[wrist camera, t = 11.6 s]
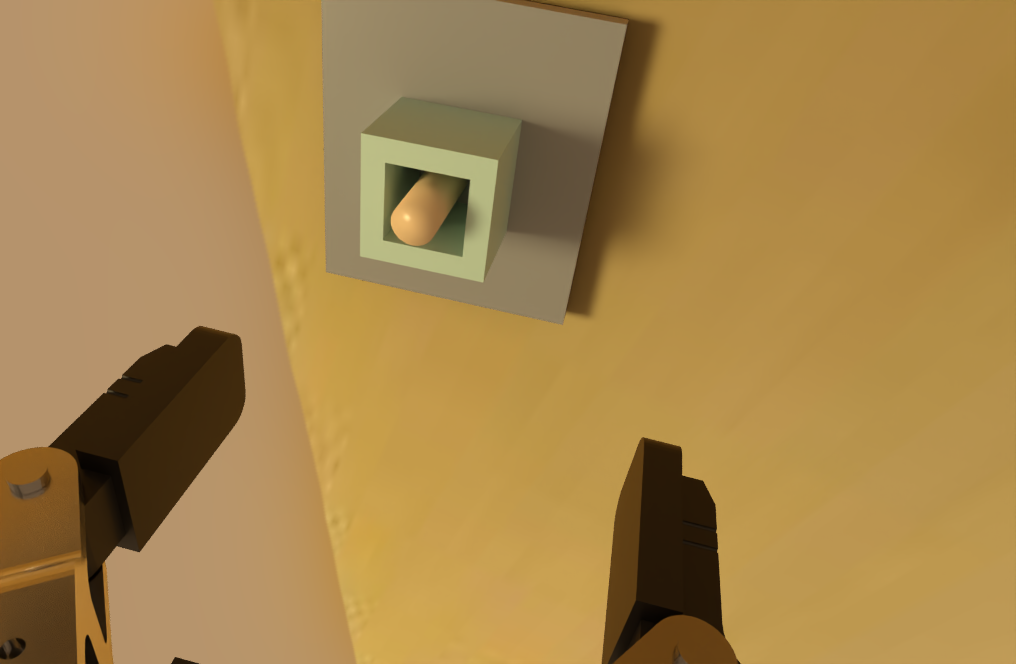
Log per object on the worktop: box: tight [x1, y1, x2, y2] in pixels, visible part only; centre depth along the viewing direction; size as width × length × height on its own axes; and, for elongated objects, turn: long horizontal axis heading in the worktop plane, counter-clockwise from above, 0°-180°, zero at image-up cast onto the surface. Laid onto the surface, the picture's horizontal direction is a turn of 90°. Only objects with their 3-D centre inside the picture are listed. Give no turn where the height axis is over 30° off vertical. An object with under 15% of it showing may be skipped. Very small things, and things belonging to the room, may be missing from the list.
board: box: [322, 0, 629, 325], centre depth 34 cm, size 16×14×8 cm
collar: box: [360, 97, 522, 282], centre depth 34 cm, size 6×6×6 cm
